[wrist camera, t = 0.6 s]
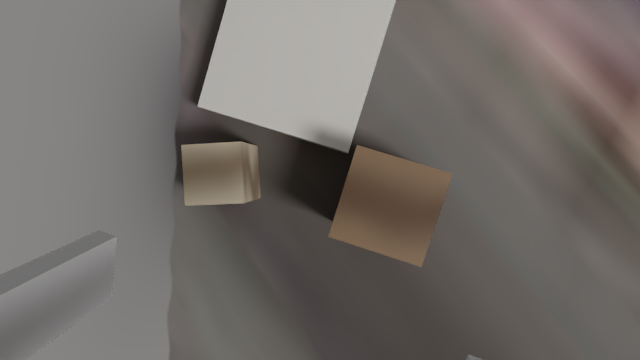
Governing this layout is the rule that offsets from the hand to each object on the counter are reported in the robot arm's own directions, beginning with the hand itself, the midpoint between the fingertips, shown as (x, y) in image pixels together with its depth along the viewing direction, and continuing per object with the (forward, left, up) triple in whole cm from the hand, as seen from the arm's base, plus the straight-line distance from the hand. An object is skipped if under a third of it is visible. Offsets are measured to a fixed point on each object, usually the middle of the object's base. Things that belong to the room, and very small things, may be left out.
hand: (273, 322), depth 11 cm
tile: (+14, +6, -19) cm, 25 cm away
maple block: (+2, +9, -19) cm, 21 cm away
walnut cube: (+4, -5, -19) cm, 20 cm away
